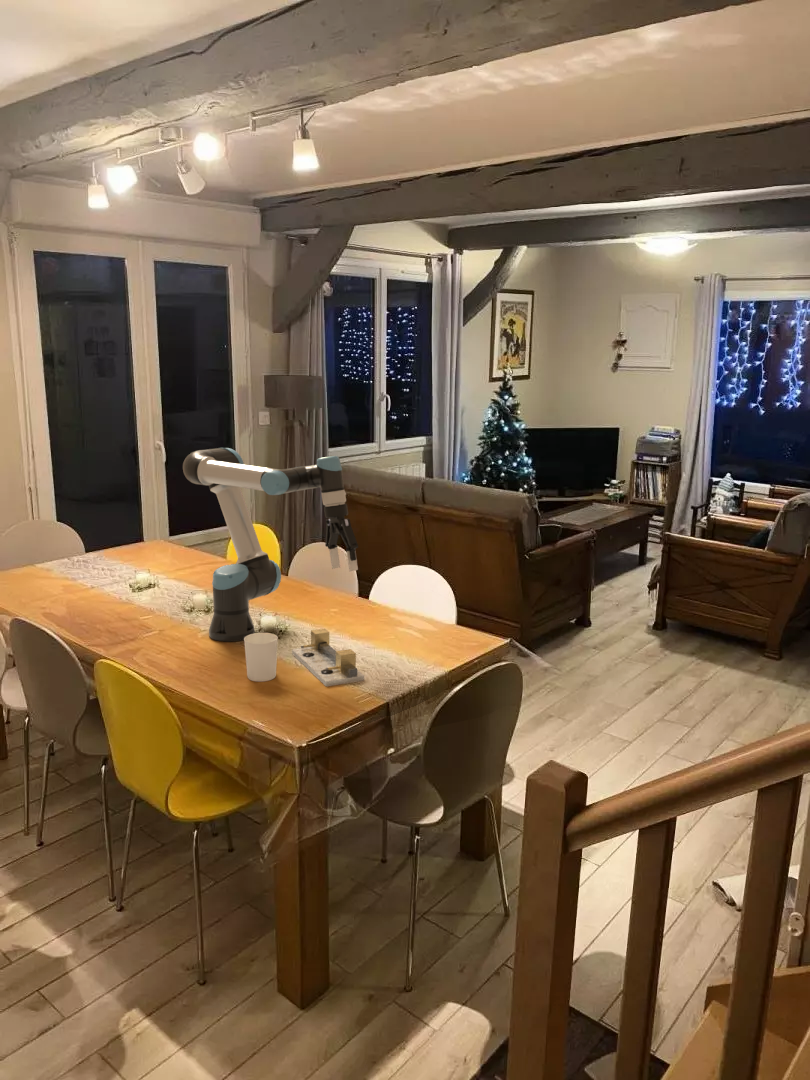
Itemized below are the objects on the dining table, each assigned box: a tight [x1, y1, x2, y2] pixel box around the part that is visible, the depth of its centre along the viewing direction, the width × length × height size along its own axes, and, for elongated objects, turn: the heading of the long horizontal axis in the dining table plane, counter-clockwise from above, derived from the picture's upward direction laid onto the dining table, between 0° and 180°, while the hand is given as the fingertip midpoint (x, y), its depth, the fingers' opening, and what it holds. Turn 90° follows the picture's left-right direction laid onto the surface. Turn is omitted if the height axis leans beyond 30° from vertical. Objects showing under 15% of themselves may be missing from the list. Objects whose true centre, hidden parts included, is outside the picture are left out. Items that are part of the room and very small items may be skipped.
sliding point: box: [300, 628, 330, 649], centre depth 263 cm, size 9×4×5 cm, turn 116°
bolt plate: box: [291, 642, 365, 687], centre depth 251 cm, size 12×30×7 cm, turn 26°
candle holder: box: [243, 632, 279, 683], centre depth 242 cm, size 10×10×12 cm
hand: (344, 569), depth 266 cm, fingers open, 13 cm apart
